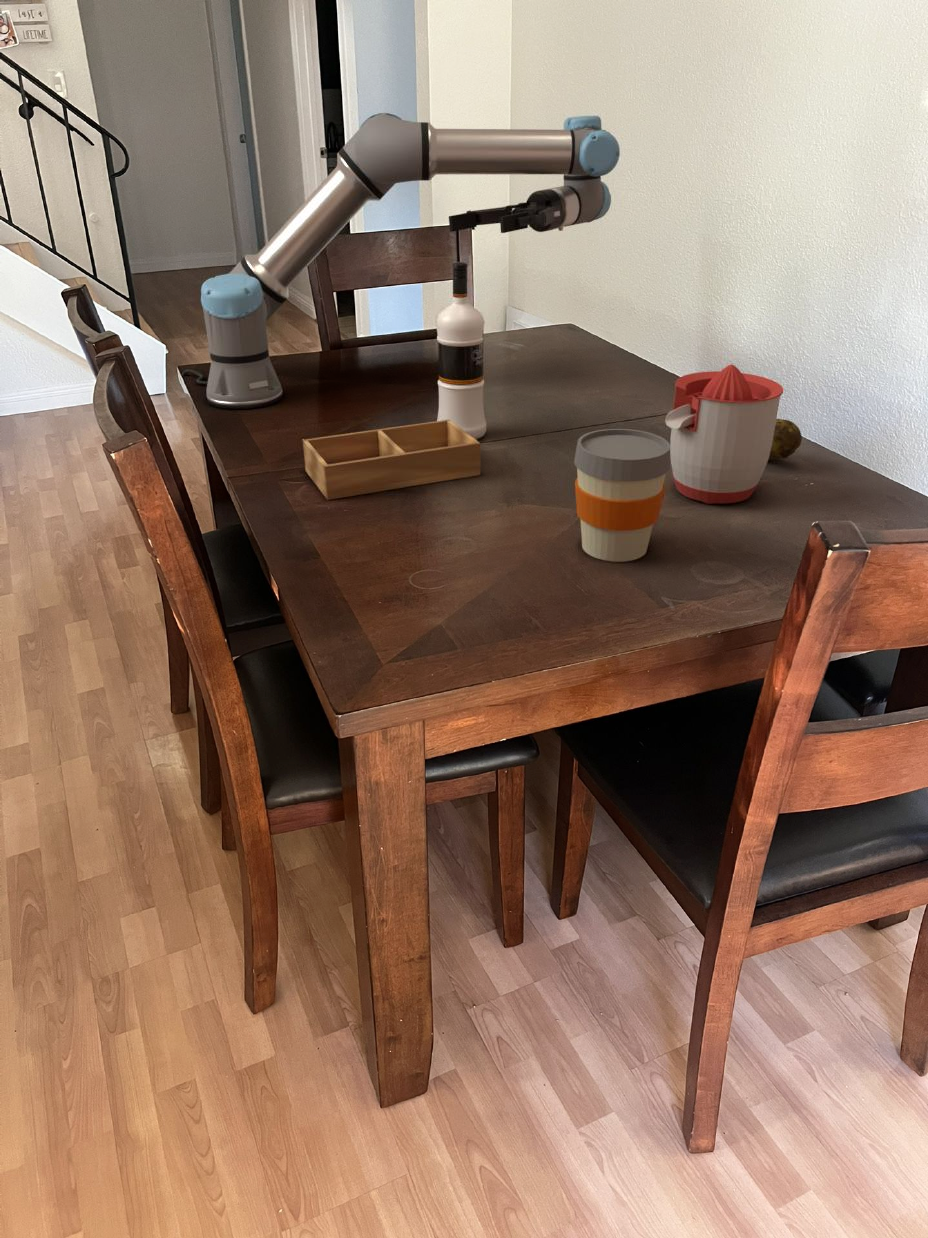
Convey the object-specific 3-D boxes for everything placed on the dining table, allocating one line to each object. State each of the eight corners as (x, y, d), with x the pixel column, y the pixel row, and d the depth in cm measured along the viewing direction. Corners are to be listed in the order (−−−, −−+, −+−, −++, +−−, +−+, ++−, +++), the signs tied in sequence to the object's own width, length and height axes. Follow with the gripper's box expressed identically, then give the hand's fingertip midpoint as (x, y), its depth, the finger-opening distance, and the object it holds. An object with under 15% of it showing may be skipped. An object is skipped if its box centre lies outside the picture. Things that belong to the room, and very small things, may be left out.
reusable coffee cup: (598, 574, 118) (607, 466, 110) (553, 537, 128) (558, 435, 120) (678, 557, 122) (692, 451, 114) (628, 522, 132) (637, 423, 124)
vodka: (436, 426, 170) (433, 257, 154) (485, 426, 170) (487, 257, 154) (435, 443, 162) (431, 266, 146) (487, 443, 162) (488, 266, 146)
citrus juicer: (634, 482, 145) (647, 358, 135) (724, 467, 151) (742, 347, 140) (690, 519, 132) (708, 385, 122) (785, 501, 138) (810, 371, 128)
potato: (765, 445, 160) (773, 401, 156) (803, 471, 149) (813, 425, 145) (722, 449, 158) (729, 404, 154) (757, 475, 147) (765, 428, 143)
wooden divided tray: (305, 471, 150) (302, 439, 147) (449, 449, 159) (449, 419, 156) (327, 500, 139) (324, 466, 137) (480, 474, 148) (480, 443, 145)
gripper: (600, 230, 173) (526, 247, 160) (506, 228, 189) (432, 243, 177) (600, 187, 169) (523, 201, 157) (504, 189, 185) (428, 202, 173)
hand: (475, 224), depth 167 cm, fingers open, 13 cm apart
